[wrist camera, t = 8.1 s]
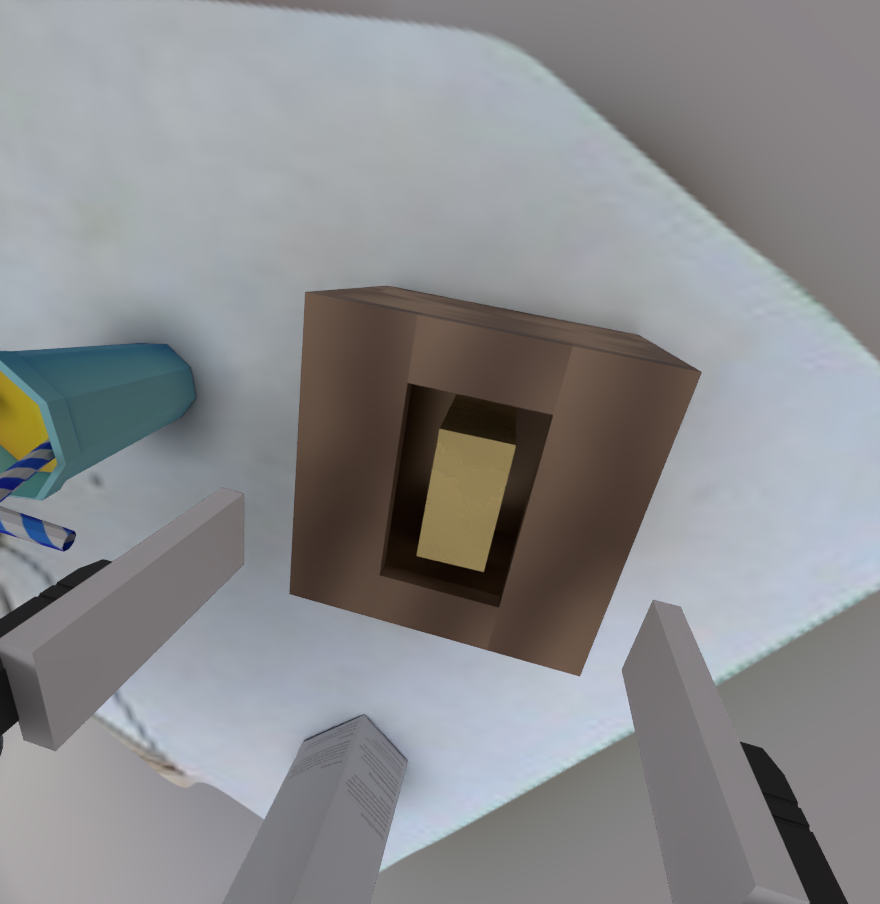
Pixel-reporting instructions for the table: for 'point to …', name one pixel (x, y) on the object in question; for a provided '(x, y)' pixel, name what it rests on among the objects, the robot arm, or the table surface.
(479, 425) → the block
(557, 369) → the coin box
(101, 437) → the cup
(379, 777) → the skincare box
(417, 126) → the table surface
